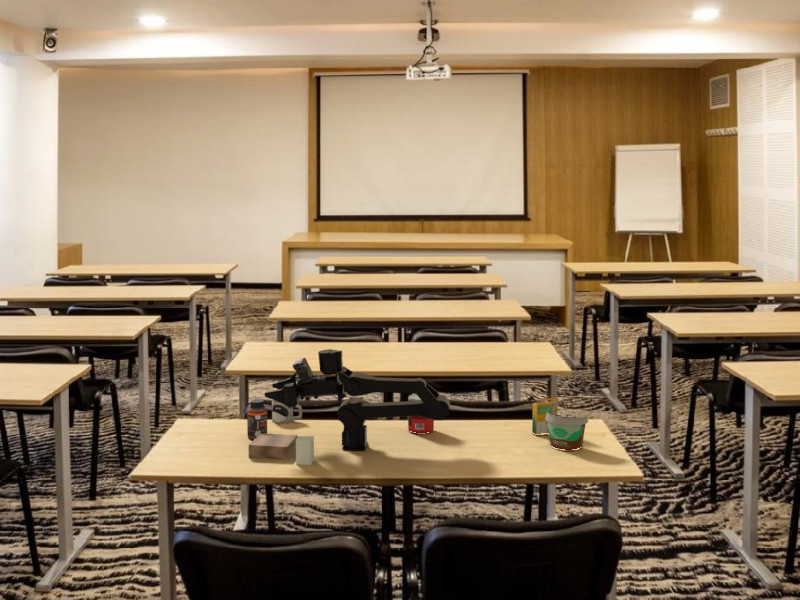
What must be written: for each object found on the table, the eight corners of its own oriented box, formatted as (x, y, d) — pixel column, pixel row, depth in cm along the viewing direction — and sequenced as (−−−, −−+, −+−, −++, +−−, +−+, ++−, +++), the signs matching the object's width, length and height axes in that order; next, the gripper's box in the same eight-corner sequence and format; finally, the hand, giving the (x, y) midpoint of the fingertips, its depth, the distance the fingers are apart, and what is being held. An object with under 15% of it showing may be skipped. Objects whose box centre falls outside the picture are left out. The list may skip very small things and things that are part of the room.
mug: (268, 423, 251) (268, 402, 250) (276, 417, 257) (276, 397, 256) (298, 425, 249) (298, 404, 248) (305, 419, 255) (305, 399, 254)
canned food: (438, 432, 242) (439, 397, 241) (417, 436, 238) (417, 401, 236) (424, 426, 249) (424, 392, 247) (403, 430, 244) (403, 395, 243)
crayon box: (552, 431, 244) (553, 395, 242) (557, 434, 241) (558, 397, 239) (531, 433, 241) (532, 397, 240) (536, 436, 238) (537, 399, 237)
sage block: (314, 460, 215) (313, 435, 214) (310, 465, 211) (310, 440, 210) (299, 459, 216) (299, 435, 215) (296, 464, 212) (295, 439, 211)
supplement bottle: (263, 440, 232) (262, 403, 231) (244, 439, 234) (243, 402, 232) (270, 434, 238) (269, 398, 237) (252, 433, 239) (251, 397, 238)
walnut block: (297, 448, 227) (297, 435, 226) (287, 461, 216) (287, 446, 215) (261, 446, 228) (260, 433, 228) (248, 458, 217) (248, 444, 217)
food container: (541, 449, 226) (542, 416, 225) (544, 443, 232) (545, 410, 230) (584, 454, 222) (585, 420, 220) (587, 448, 227) (588, 414, 226)
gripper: (324, 351, 233) (272, 355, 234) (312, 367, 215) (257, 371, 216) (328, 387, 235) (277, 391, 236) (317, 406, 217) (261, 410, 218)
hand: (268, 390), depth 227 cm, fingers open, 9 cm apart
